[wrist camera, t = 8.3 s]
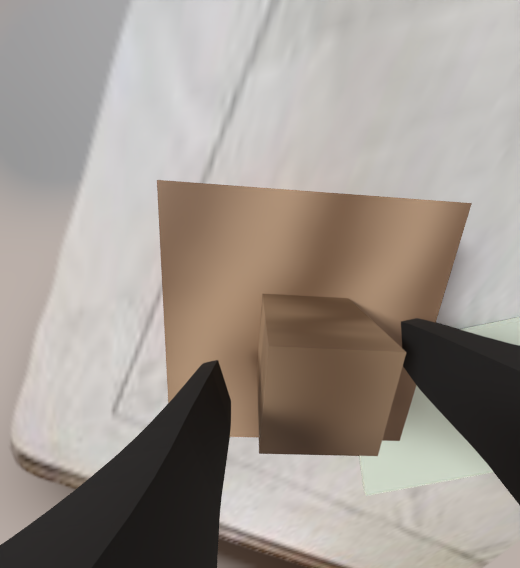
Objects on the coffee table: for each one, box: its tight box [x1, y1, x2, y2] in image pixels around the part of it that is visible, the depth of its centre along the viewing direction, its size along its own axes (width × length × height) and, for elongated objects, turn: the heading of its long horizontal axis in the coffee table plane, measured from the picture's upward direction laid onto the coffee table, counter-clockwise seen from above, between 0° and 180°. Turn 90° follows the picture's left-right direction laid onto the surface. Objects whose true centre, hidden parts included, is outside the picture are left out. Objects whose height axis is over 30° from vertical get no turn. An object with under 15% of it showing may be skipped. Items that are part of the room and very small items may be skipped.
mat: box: [359, 317, 520, 496], centre depth 20 cm, size 15×15×1 cm
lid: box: [157, 180, 472, 456], centre depth 10 cm, size 13×13×5 cm
